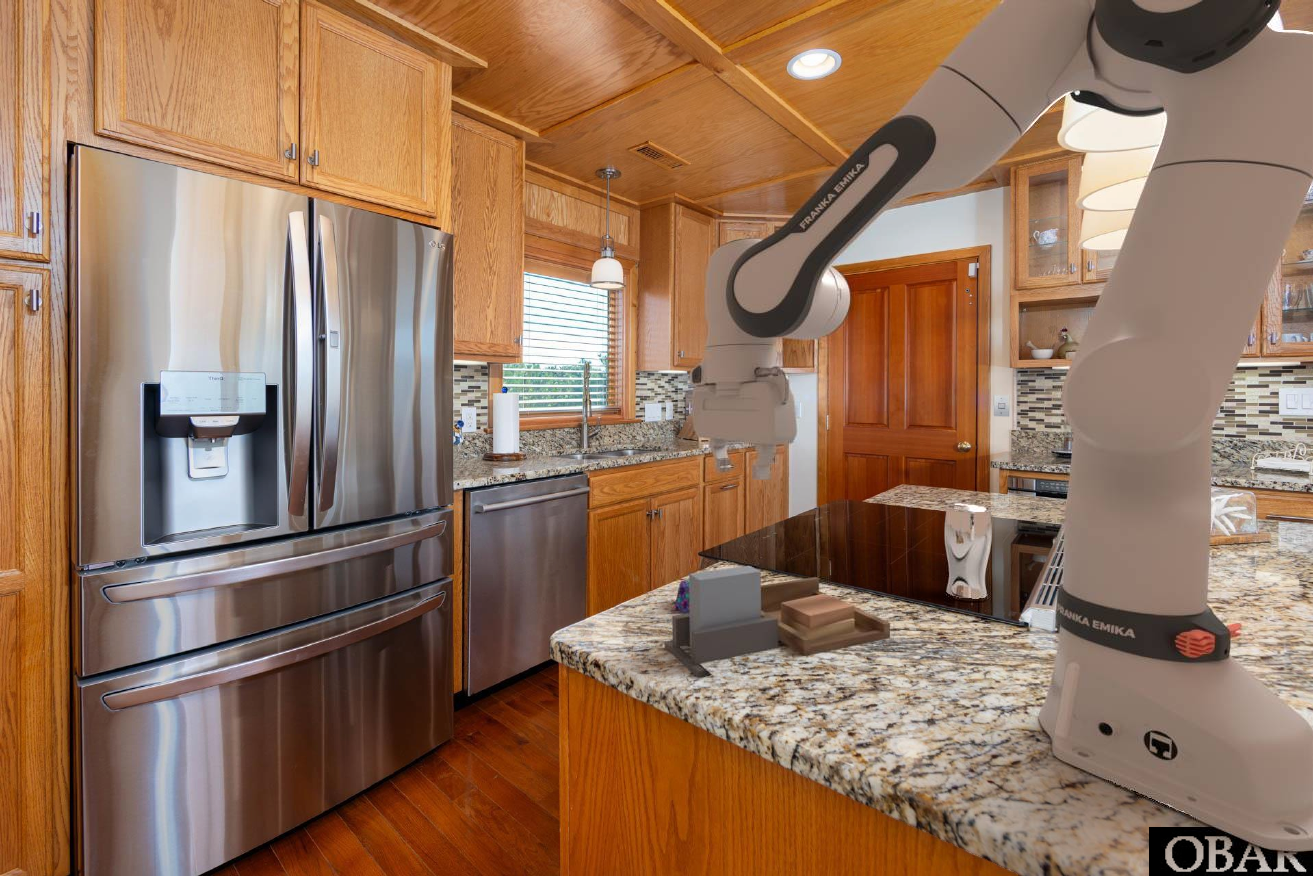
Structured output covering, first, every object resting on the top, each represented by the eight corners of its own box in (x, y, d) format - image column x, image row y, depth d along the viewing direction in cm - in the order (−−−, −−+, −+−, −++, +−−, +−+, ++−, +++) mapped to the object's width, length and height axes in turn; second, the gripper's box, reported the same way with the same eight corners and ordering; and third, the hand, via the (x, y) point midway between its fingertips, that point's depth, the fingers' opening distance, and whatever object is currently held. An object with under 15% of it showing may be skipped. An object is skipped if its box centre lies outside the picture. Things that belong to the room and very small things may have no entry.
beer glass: (1000, 600, 101) (1002, 509, 100) (968, 605, 99) (970, 512, 98) (964, 587, 108) (966, 502, 107) (934, 593, 105) (935, 505, 104)
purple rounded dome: (646, 621, 95) (645, 587, 95) (682, 598, 105) (682, 567, 105) (718, 635, 89) (717, 599, 89) (749, 609, 99) (748, 577, 99)
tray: (889, 644, 84) (890, 608, 84) (804, 663, 79) (804, 624, 78) (815, 608, 99) (815, 577, 98) (739, 621, 93) (739, 588, 93)
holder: (788, 658, 80) (788, 622, 80) (698, 678, 75) (697, 639, 75) (747, 631, 89) (747, 599, 89) (664, 647, 84) (664, 612, 84)
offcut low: (854, 632, 86) (854, 619, 86) (806, 641, 83) (806, 628, 83) (826, 618, 92) (826, 606, 91) (780, 626, 88) (780, 614, 88)
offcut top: (854, 618, 86) (854, 605, 86) (810, 629, 83) (810, 615, 82) (823, 605, 92) (823, 593, 92) (780, 615, 88) (780, 602, 88)
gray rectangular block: (760, 645, 82) (760, 571, 82) (700, 657, 79) (699, 580, 78) (748, 637, 85) (748, 565, 84) (689, 648, 82) (689, 574, 81)
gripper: (809, 365, 73) (810, 482, 74) (722, 373, 92) (723, 466, 92) (764, 365, 70) (765, 486, 71) (683, 373, 89) (685, 469, 90)
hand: (741, 475), depth 82 cm, fingers open, 8 cm apart
